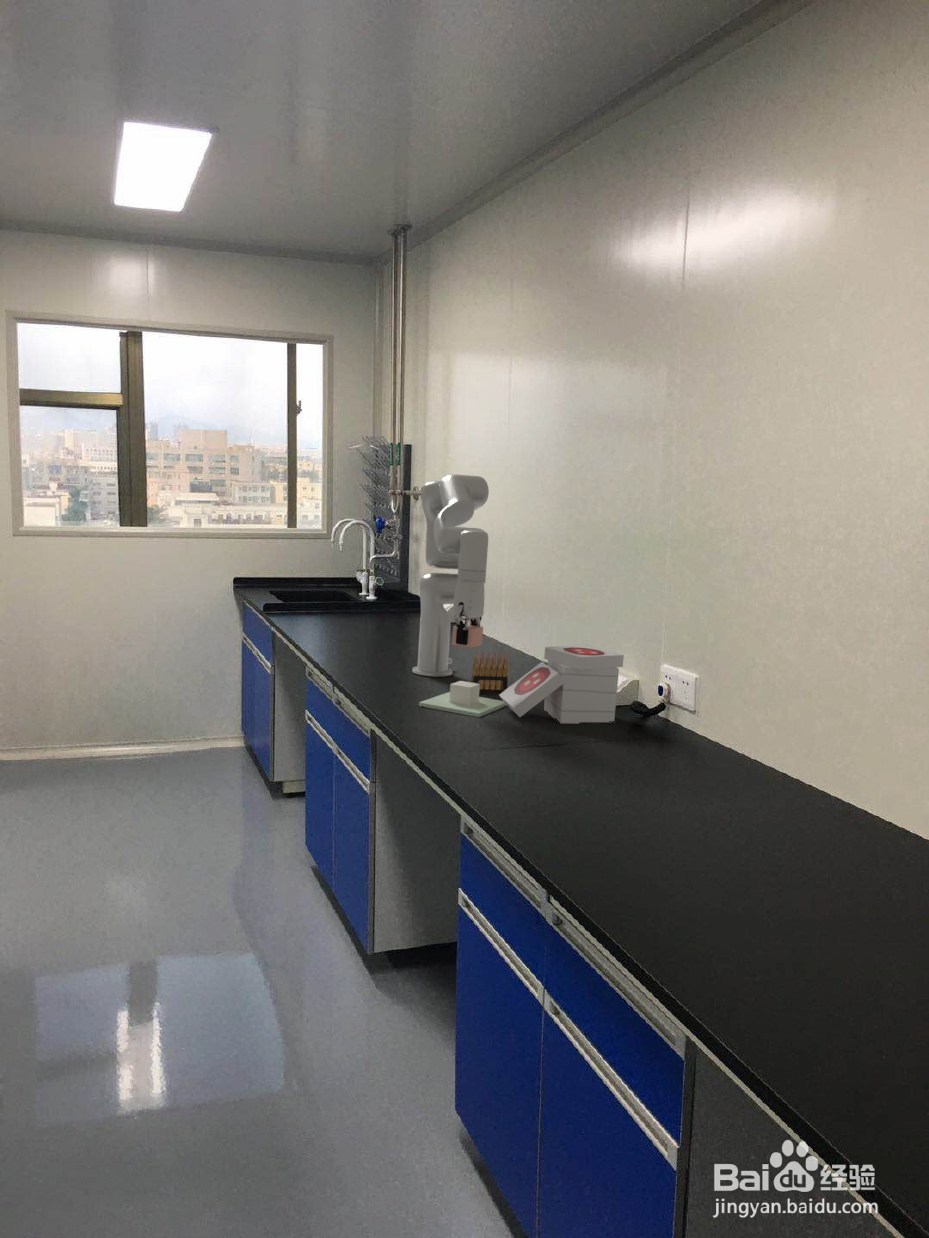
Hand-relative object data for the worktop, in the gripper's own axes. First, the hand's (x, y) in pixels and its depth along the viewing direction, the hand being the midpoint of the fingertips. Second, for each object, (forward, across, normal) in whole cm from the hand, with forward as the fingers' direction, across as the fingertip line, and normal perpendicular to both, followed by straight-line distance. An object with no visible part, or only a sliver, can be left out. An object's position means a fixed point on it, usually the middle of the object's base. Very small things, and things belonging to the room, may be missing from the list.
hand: (467, 642), depth 266 cm
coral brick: (+1, 0, 0) cm, 1 cm away
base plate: (+18, 0, 0) cm, 18 cm away
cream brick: (+17, 0, 0) cm, 17 cm away
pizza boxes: (+18, -7, +25) cm, 32 cm away
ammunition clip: (+18, -20, -2) cm, 27 cm away
